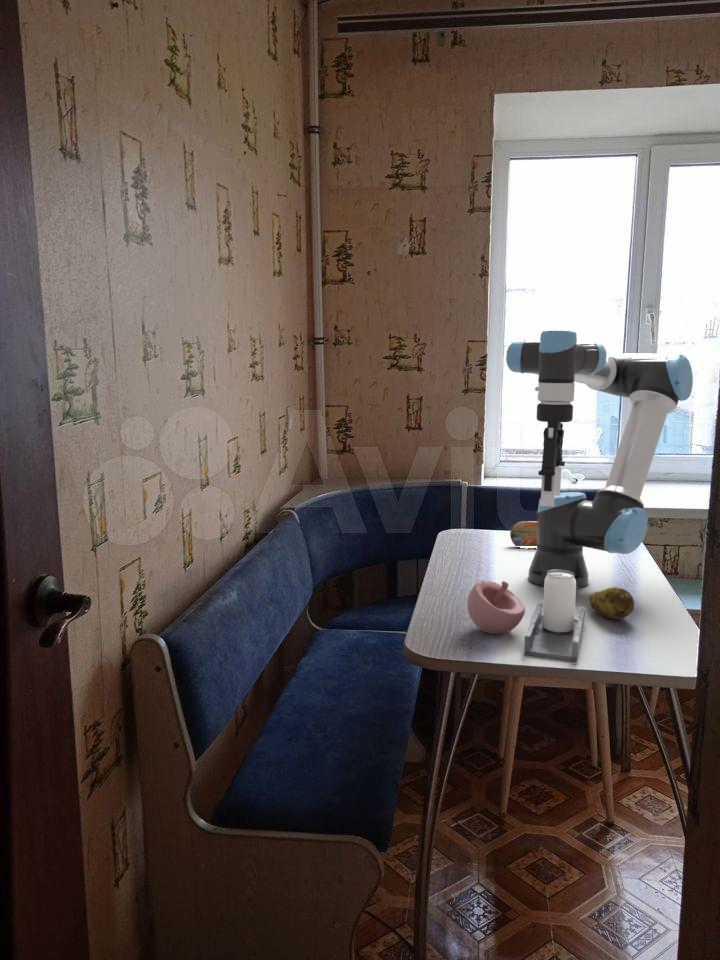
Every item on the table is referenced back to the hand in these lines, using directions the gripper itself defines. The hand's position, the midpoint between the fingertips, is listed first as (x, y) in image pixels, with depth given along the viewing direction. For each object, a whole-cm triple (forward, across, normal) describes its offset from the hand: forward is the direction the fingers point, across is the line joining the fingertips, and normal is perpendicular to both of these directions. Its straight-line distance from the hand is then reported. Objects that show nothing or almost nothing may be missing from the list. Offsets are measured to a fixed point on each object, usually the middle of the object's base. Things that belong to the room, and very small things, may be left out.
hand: (550, 500), depth 167 cm
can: (+26, +9, +4) cm, 28 cm away
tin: (+27, -63, -10) cm, 69 cm away
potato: (+27, -4, +14) cm, 31 cm away
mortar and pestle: (+27, +13, -9) cm, 31 cm away
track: (+27, +13, +4) cm, 30 cm away
